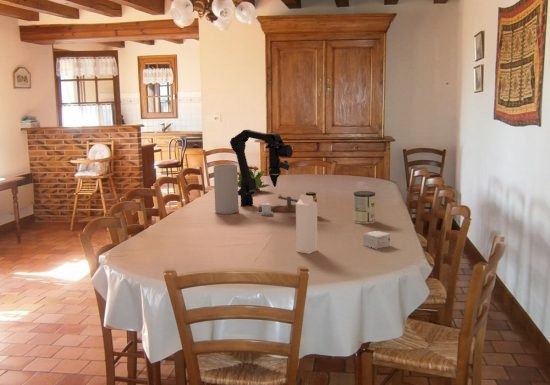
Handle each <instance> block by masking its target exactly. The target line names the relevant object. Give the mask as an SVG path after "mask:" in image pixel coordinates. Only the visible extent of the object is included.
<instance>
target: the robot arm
mask: <svg viewBox="0 0 550 385" xmlns="http://www.w3.org/2000/svg"><path fill="white" fill-rule="evenodd" d="M249 139H254V140H259V141H263V142H264V143H265V144H267V145H266V146H265V147H264V148H265V149H268V167H267V169H268V170H267V171H268V175H269V177H270V180H271V183H272V185H273V187H274V188H275V187H277V182H278V178H279V177H280V176H281V174H282V173H281V172H282V171H281V169H284V170H286V171H289V169H290V166H291V164H290V163H289V162H288V161H287V160H282V161H281V159H280V158H291V157H292V156H293V148H292V147H291V144H285V142H284V140H283V139H282V137H281V135H280V133H275V132H274V133H272V132H271V133H265V132H261V131H255V130H251V129H243V130H242V131H241V132H239V133H238V134H236V135H234V137H231V139H230V141H229V143H230V147H231V150H232V151H233V152H234V153H235V156H236V159H237V163H238V164H237V165H238V168H239V171H240V172H239V173H241V176H242V180H241V188H240V187H239V189H238V197H239V196H240V207H252V206H253V204H254V197H253V195H254V194H255V192H254V191H255V189H256V185H257V184H256V182H255V178H252V177H251V176H250V172H249V168H248V166H249V165H248V161H247V156H246V153H245V151H246V147H247V145H246V143H247V142H248V140H249Z"/></svg>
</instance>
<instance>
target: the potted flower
mask: <svg viewBox="0 0 550 385" xmlns="http://www.w3.org/2000/svg"><path fill="white" fill-rule="evenodd" d="M248 168H249V172H250V176H251V177H252V178H255V182H256V184H257V185H256V189H255V191H254V193H257V192H260V191H261V189H262V188H267V187H270V186H271V185H270V184H263V181H262V177H263V175H264V173H265V172H266V170H261V171H258V170H259V167H257V166H255V165H254V166H252V165H250V166H249V165H248ZM256 172H257V174H256ZM237 173H238V188H239V189H240V188H241V180H242V176H241V172H239V171H237Z"/></svg>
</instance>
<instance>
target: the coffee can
mask: <svg viewBox="0 0 550 385" xmlns="http://www.w3.org/2000/svg"><path fill="white" fill-rule="evenodd" d="M353 222H354V223H355V224H367V225H368V224H373V223H375V222H376V192H375V191H371V190H365V191H364V190H362V191H361V190H360V191H354V192H353Z"/></svg>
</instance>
